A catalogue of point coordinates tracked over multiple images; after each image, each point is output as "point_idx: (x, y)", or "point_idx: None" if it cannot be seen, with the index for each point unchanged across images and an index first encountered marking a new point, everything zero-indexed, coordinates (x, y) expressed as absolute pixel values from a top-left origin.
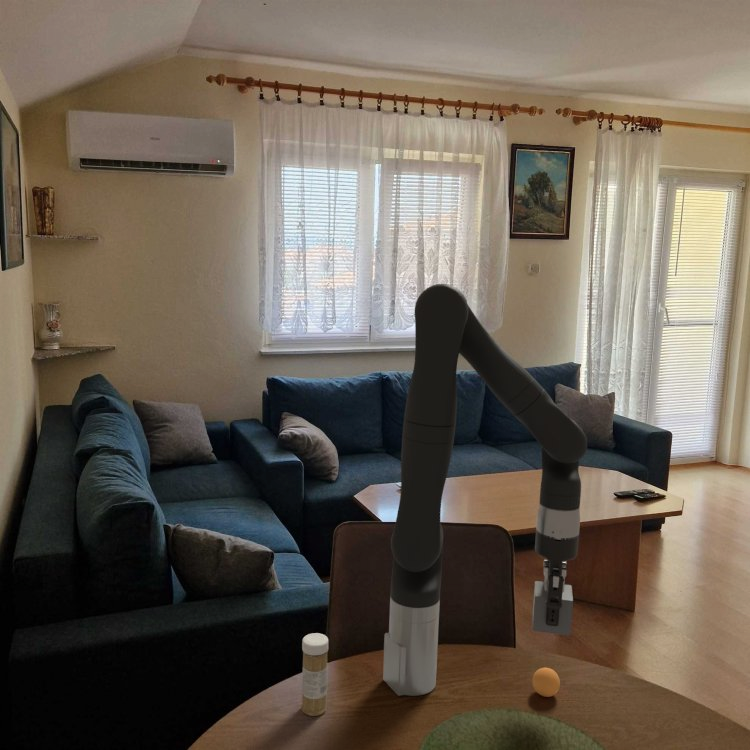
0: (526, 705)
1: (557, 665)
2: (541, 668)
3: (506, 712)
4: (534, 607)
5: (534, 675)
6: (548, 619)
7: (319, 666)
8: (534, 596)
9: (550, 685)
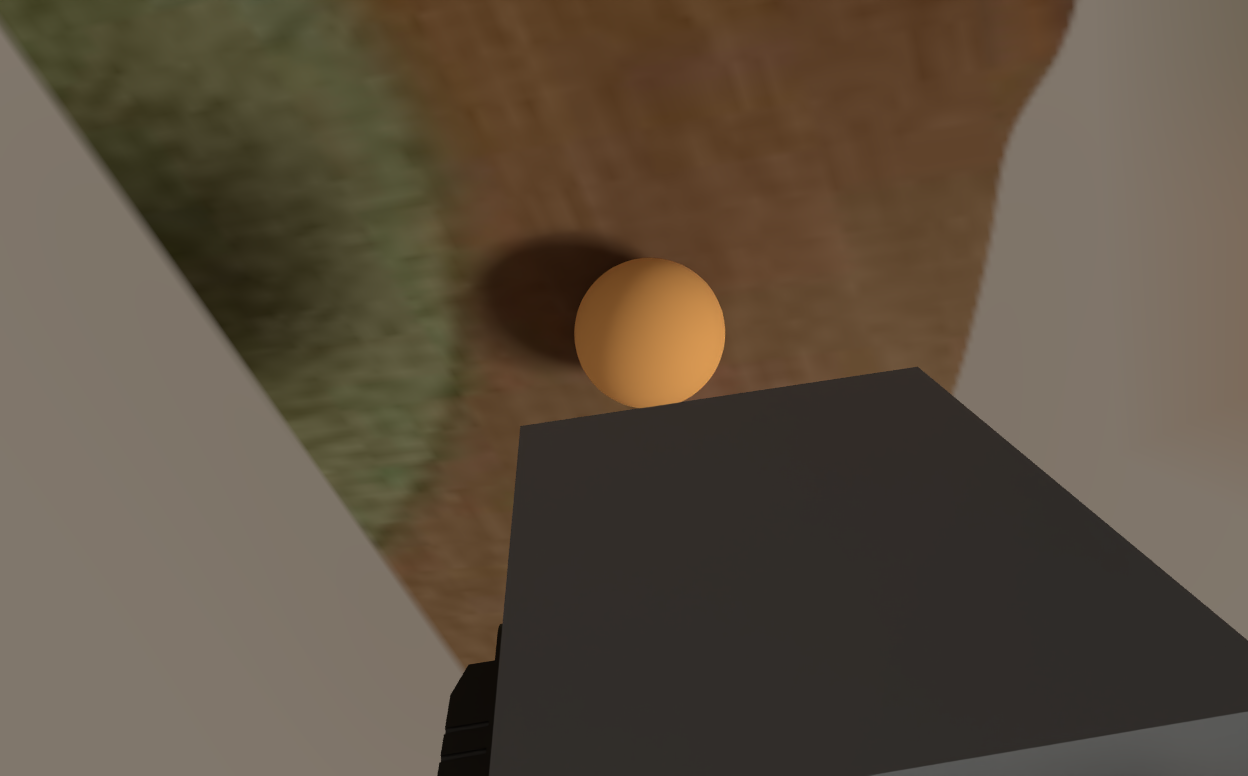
0: (503, 234)
1: (928, 329)
2: (675, 325)
3: (387, 141)
4: (505, 633)
5: (636, 281)
6: (450, 715)
7: None
8: (783, 649)
9: (586, 371)
